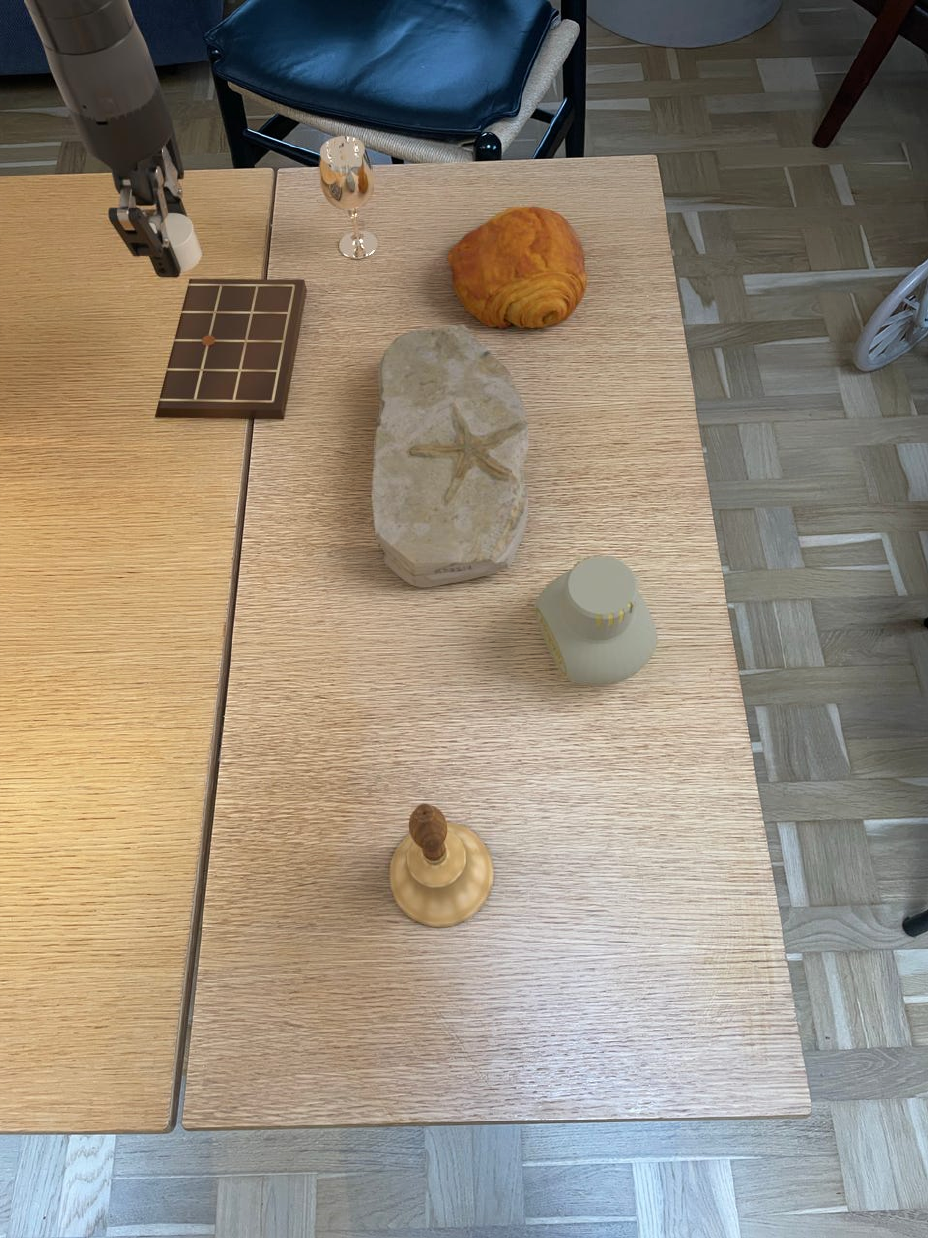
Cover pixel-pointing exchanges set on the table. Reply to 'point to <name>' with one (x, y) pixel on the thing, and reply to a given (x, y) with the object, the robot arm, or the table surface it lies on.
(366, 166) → the wineglass
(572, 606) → the air freshener
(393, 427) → the fossil stone
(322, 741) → the table surface
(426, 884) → the hand bell
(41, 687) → the table surface
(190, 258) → the white short cylinder
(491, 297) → the croissant
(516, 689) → the table surface
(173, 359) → the grid board
